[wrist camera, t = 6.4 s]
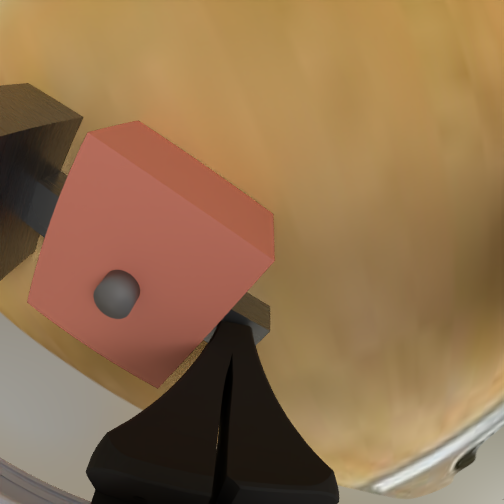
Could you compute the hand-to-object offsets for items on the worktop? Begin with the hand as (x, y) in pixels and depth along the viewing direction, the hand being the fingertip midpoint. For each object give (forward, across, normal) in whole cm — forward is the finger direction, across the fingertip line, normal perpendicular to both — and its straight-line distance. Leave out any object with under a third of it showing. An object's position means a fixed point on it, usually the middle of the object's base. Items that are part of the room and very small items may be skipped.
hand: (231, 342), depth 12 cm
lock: (+2, +4, -3) cm, 5 cm away
